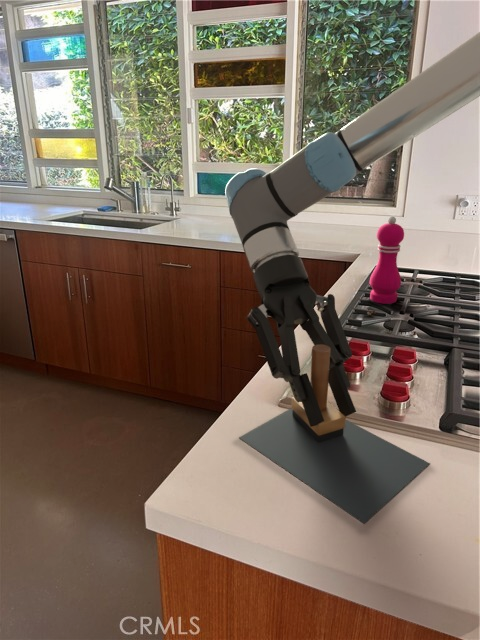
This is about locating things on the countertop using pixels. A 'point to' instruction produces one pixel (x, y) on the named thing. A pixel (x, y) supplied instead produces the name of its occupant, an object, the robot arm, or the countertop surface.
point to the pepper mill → (387, 264)
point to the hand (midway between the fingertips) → (333, 418)
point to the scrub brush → (320, 399)
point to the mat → (338, 463)
